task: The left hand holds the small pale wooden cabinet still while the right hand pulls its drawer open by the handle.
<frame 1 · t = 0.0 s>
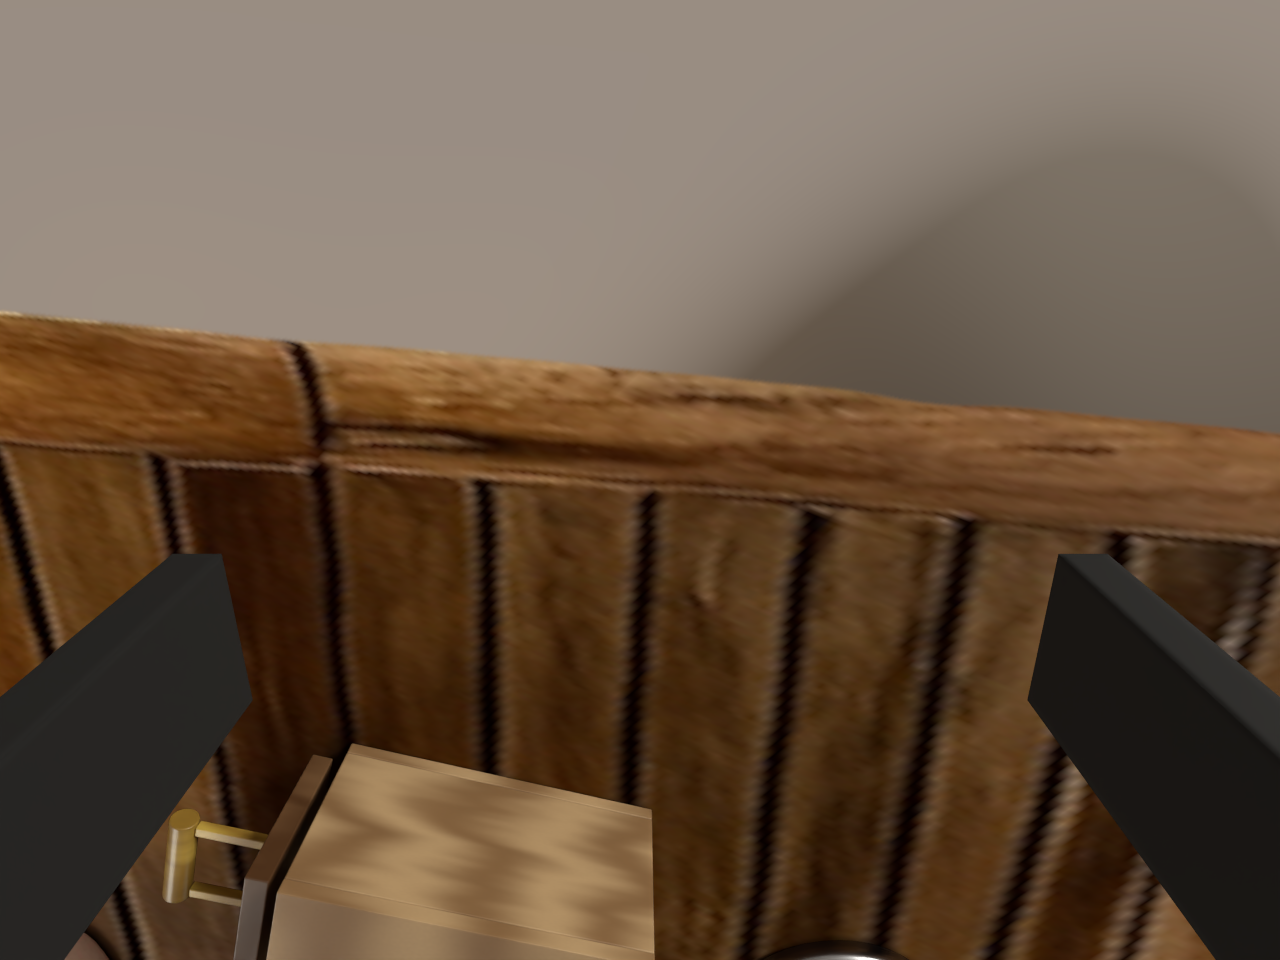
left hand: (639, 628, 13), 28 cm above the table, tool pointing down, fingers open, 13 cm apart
drawer: (377, 896, 46), point 5 cm above the table, slide at 0.7 cm
cabinet: (486, 841, 51), on the table
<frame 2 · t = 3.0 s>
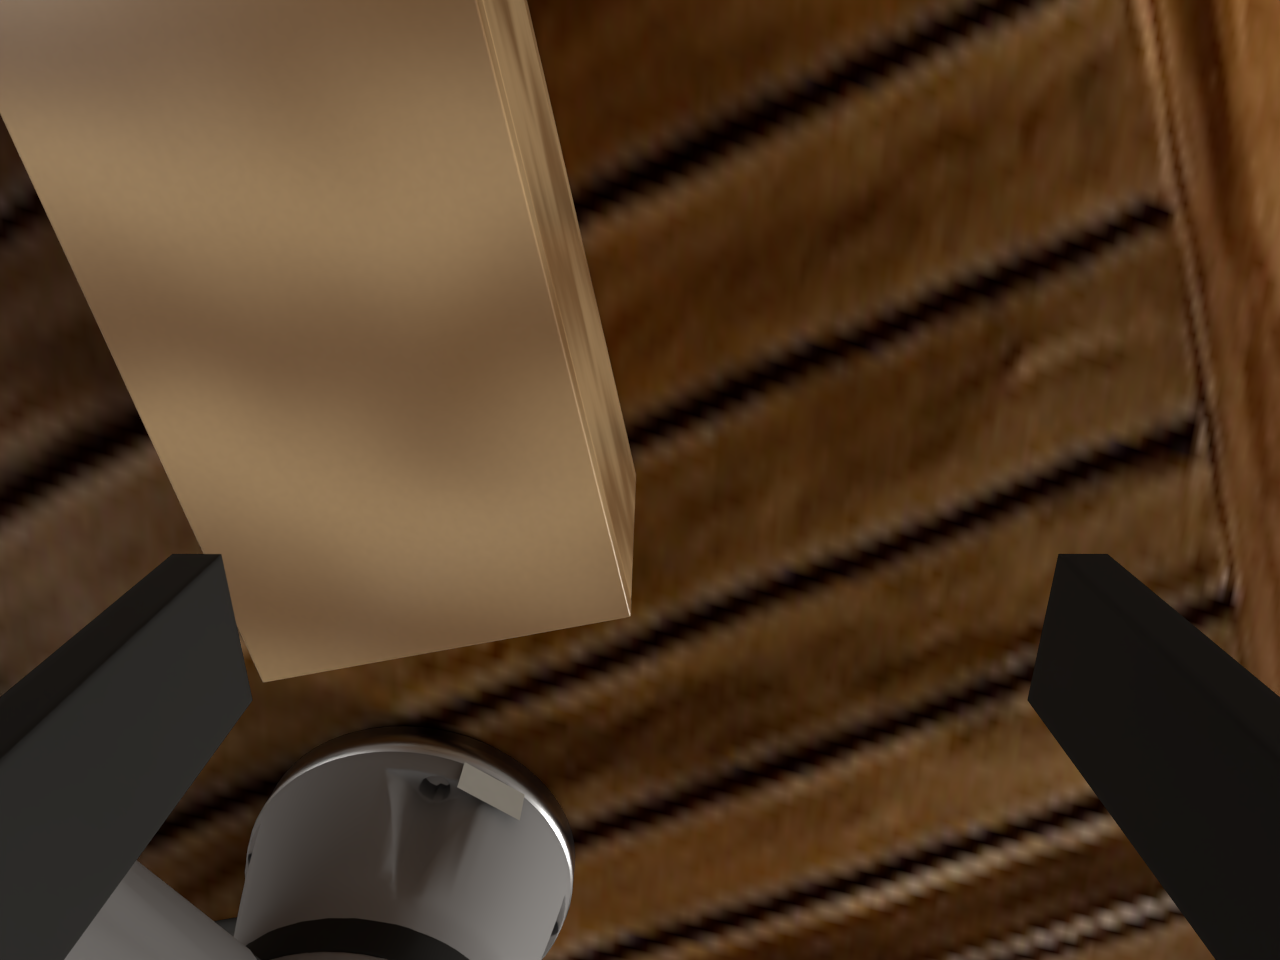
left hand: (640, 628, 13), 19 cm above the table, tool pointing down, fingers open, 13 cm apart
cabinet: (436, 269, 29), on the table
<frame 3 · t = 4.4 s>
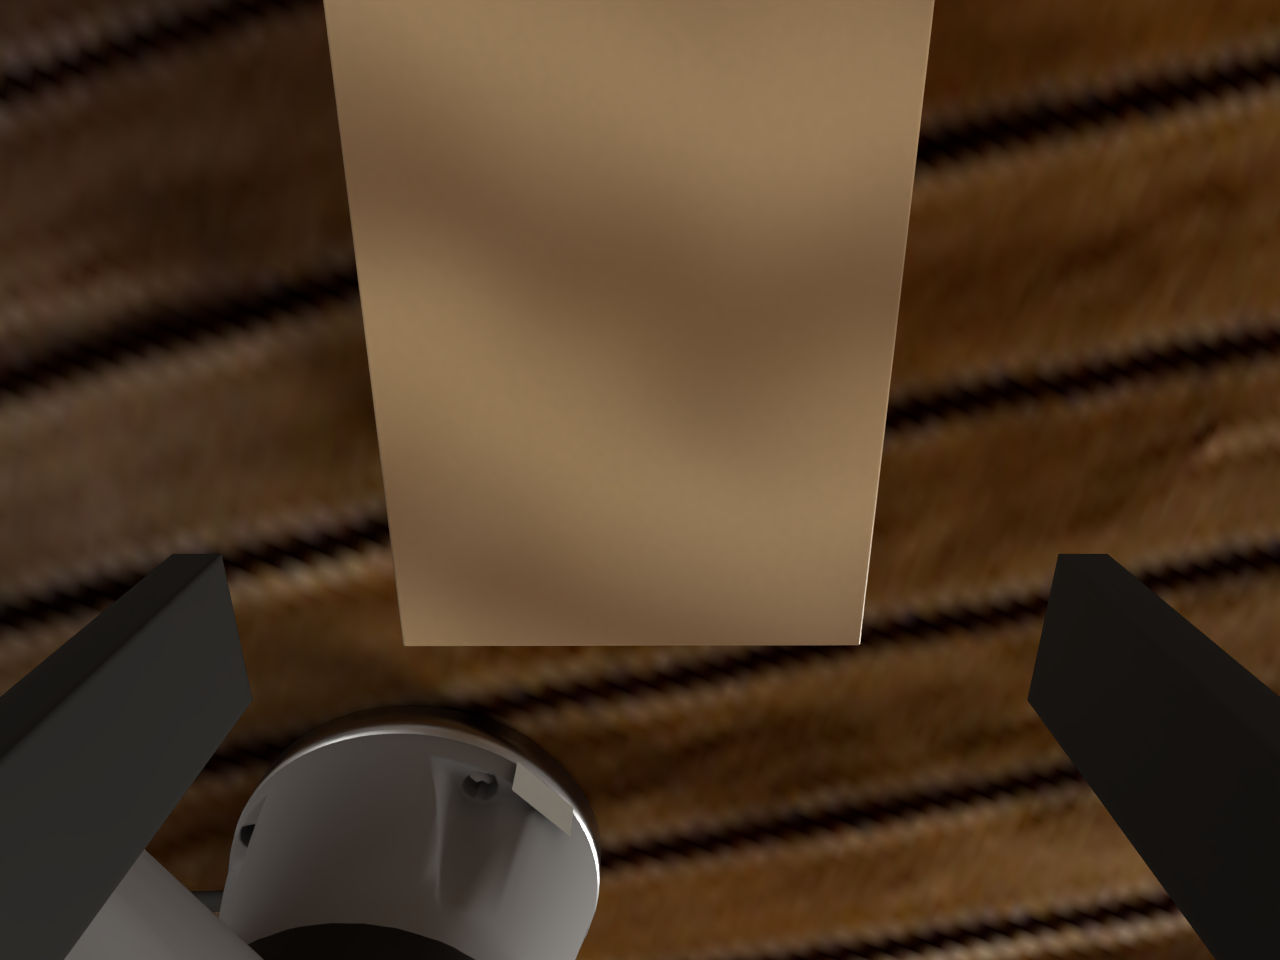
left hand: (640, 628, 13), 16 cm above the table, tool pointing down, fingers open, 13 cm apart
cabinet: (632, 209, 26), on the table
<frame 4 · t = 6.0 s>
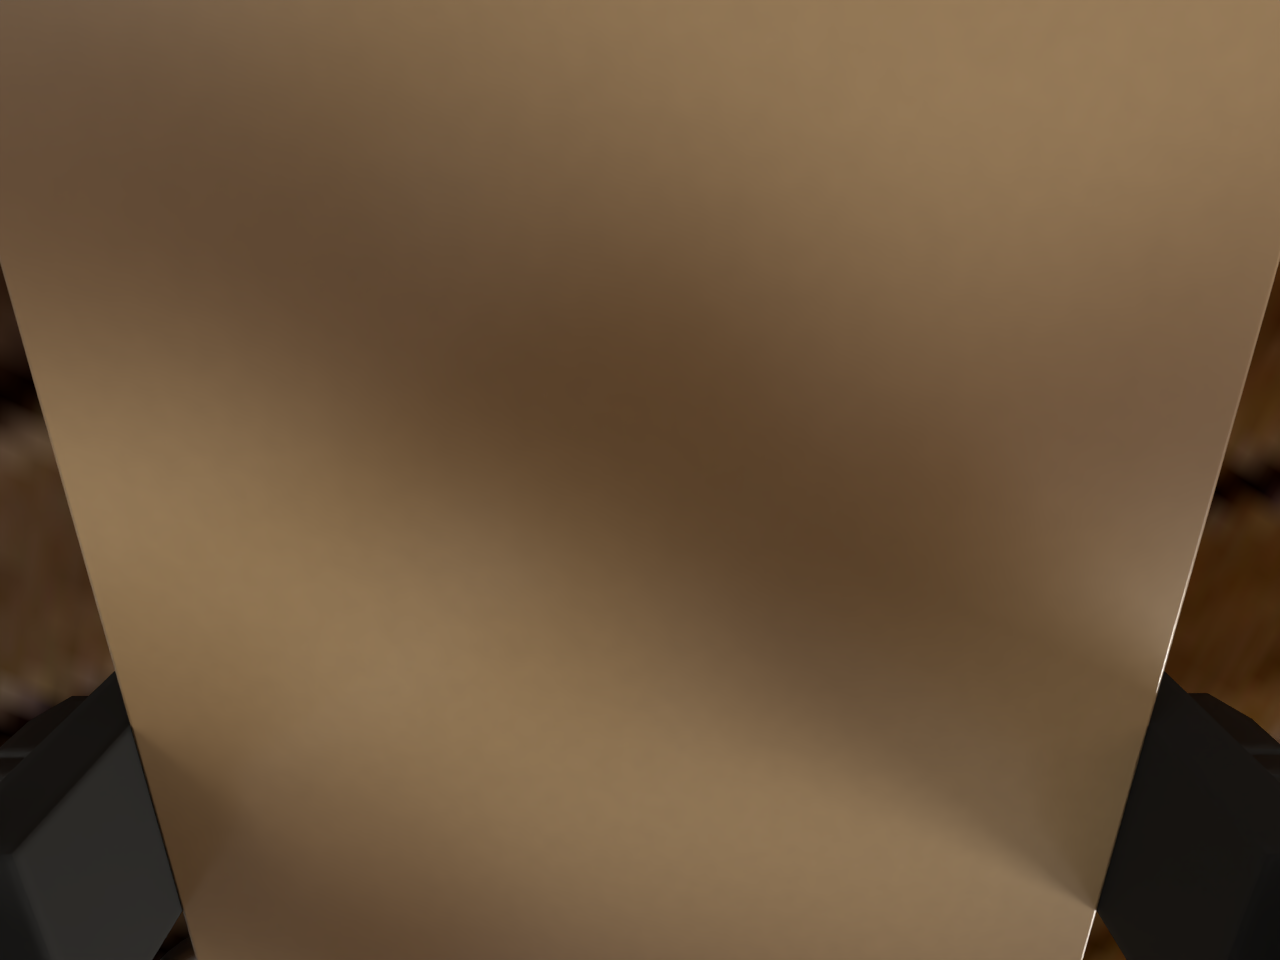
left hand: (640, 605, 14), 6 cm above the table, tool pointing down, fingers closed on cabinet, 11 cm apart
cabinet: (639, 227, 17), on the table, touching left hand
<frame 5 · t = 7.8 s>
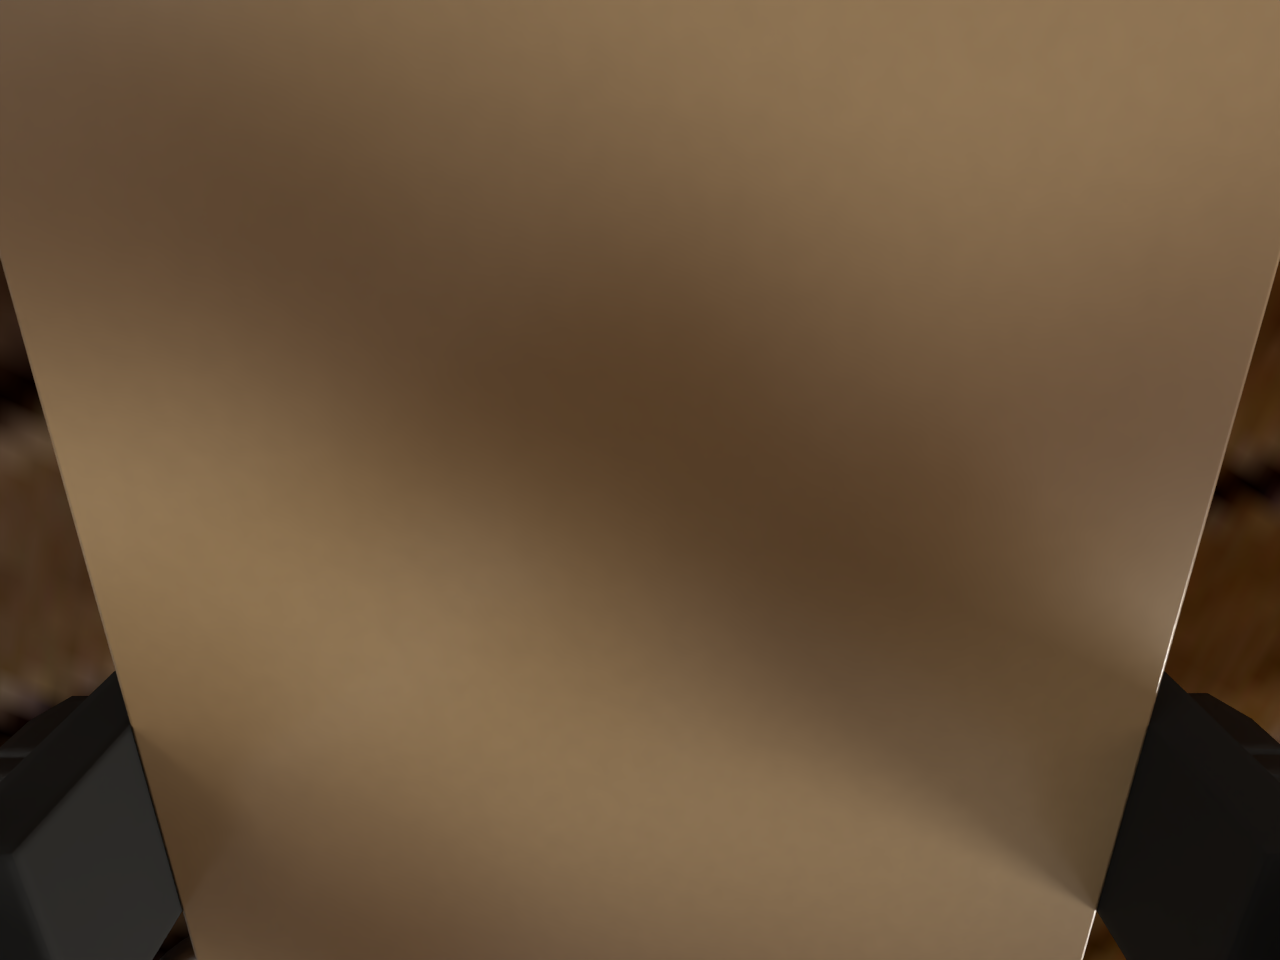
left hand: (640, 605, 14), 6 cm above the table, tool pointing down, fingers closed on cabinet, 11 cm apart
cabinet: (640, 228, 17), on the table, touching left hand
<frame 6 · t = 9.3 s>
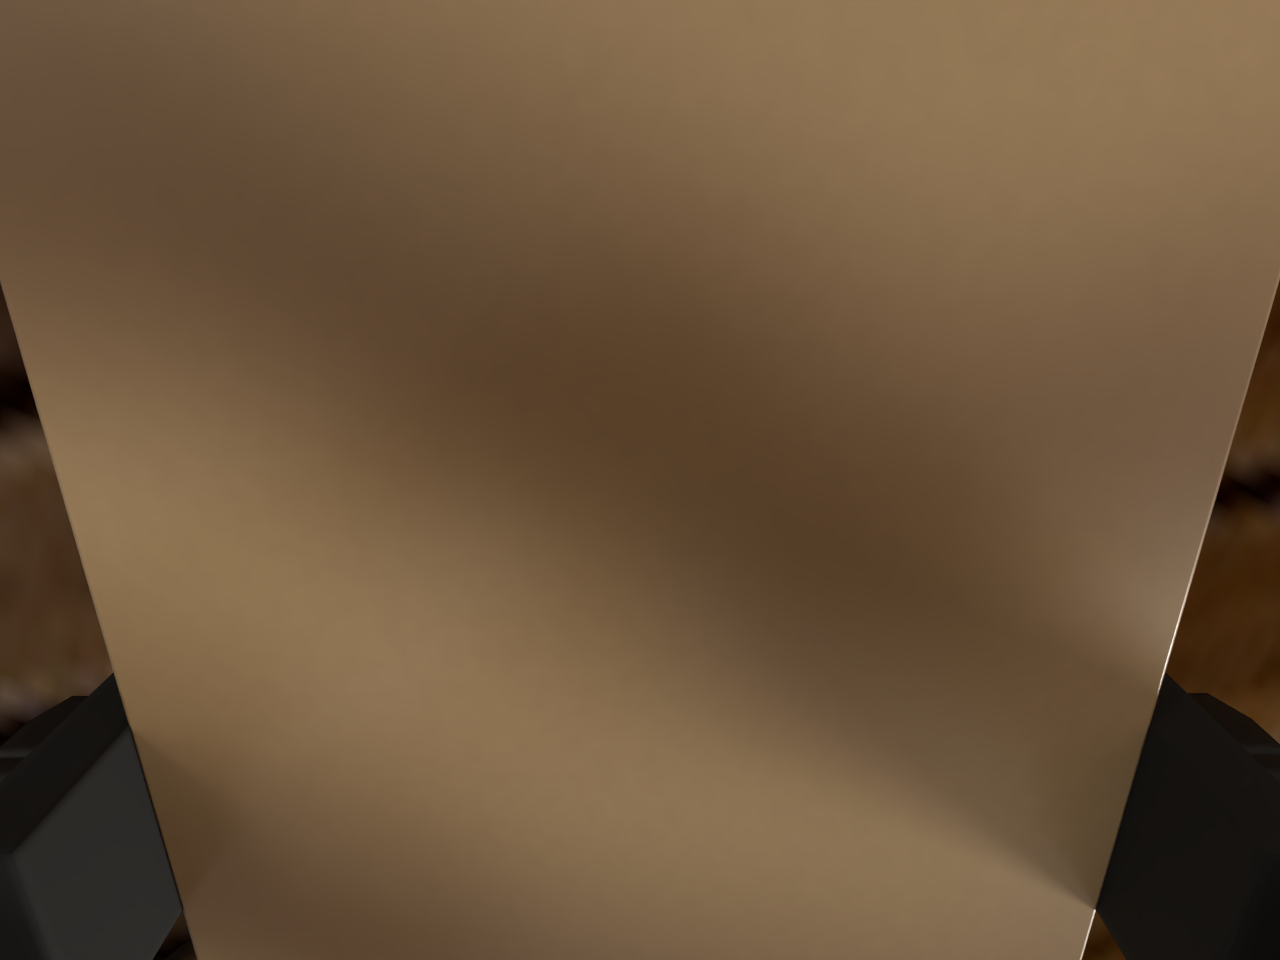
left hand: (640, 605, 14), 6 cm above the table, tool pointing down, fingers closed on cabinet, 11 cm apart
cabinet: (639, 222, 17), on the table, touching left hand
when the left hand's fingers open (6 cm above the table, at t = 10.8 s): cabinet stays where it is, on the table.
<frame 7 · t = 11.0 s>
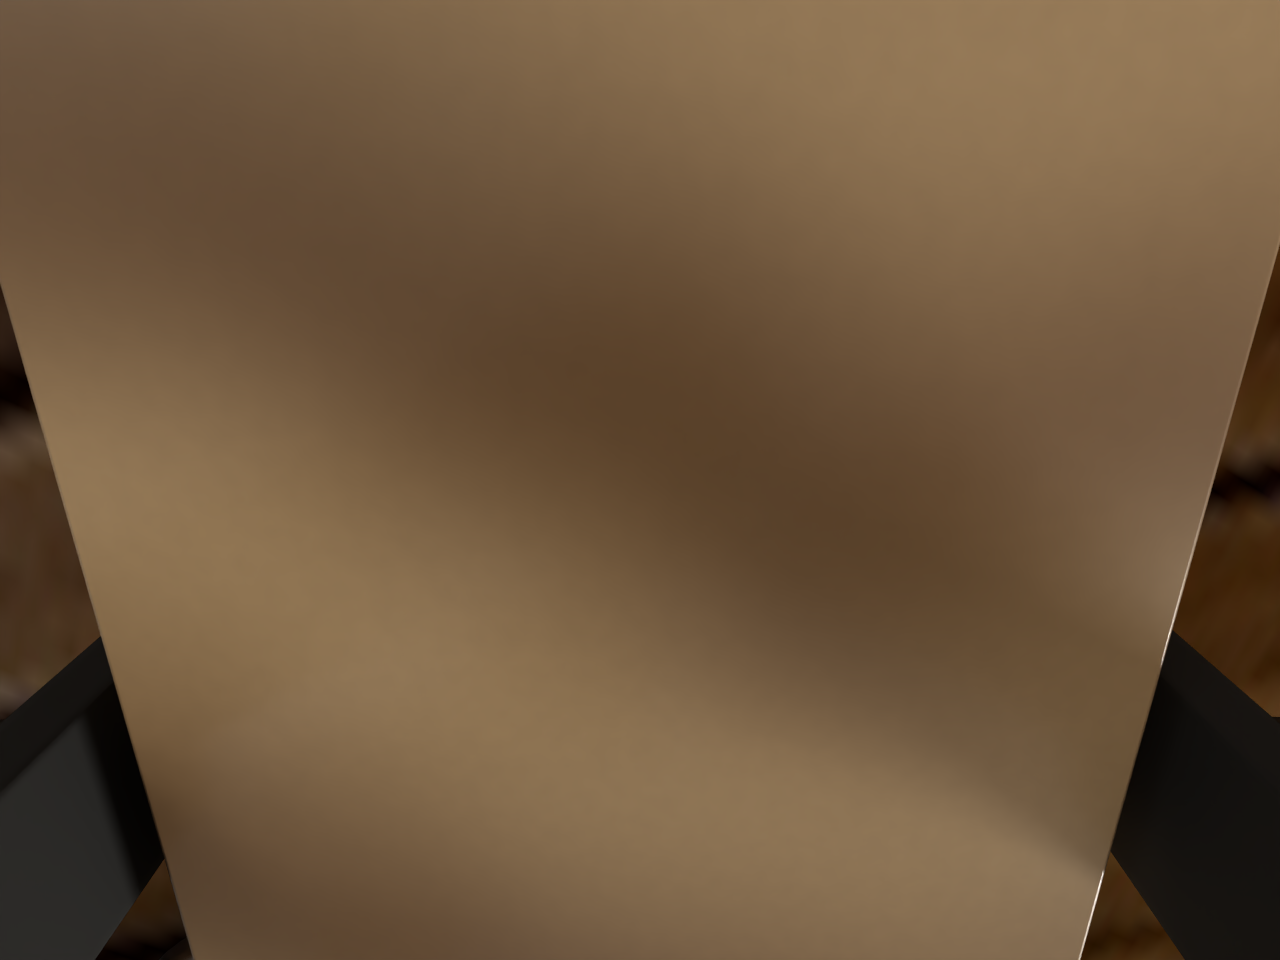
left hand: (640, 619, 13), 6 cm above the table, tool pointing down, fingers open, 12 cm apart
cabinet: (638, 219, 17), on the table
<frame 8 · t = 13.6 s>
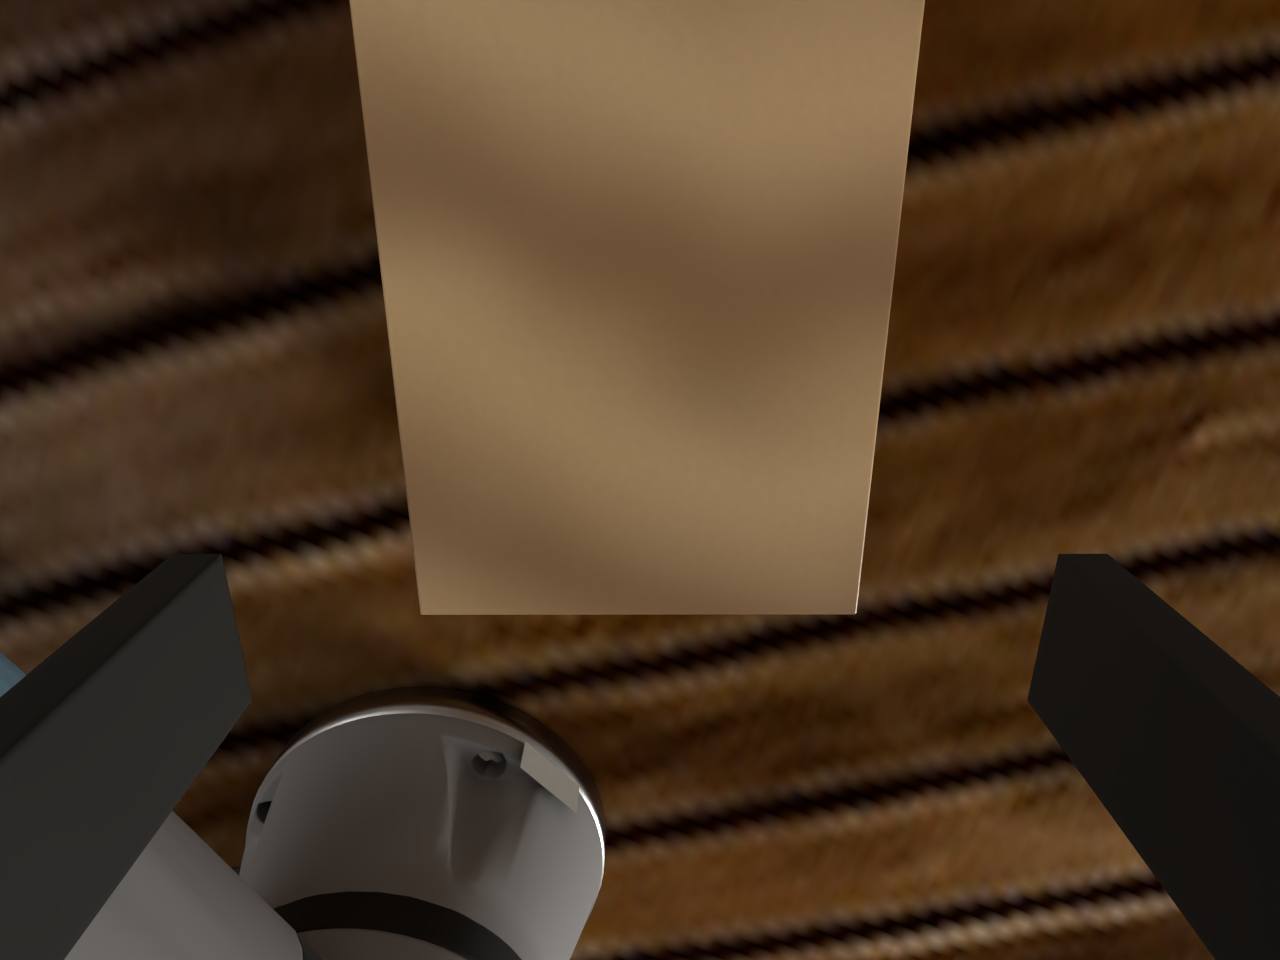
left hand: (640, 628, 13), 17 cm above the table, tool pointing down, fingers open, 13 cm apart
cabinet: (638, 199, 27), on the table
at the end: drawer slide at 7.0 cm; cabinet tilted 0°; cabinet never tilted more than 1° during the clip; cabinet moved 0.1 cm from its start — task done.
